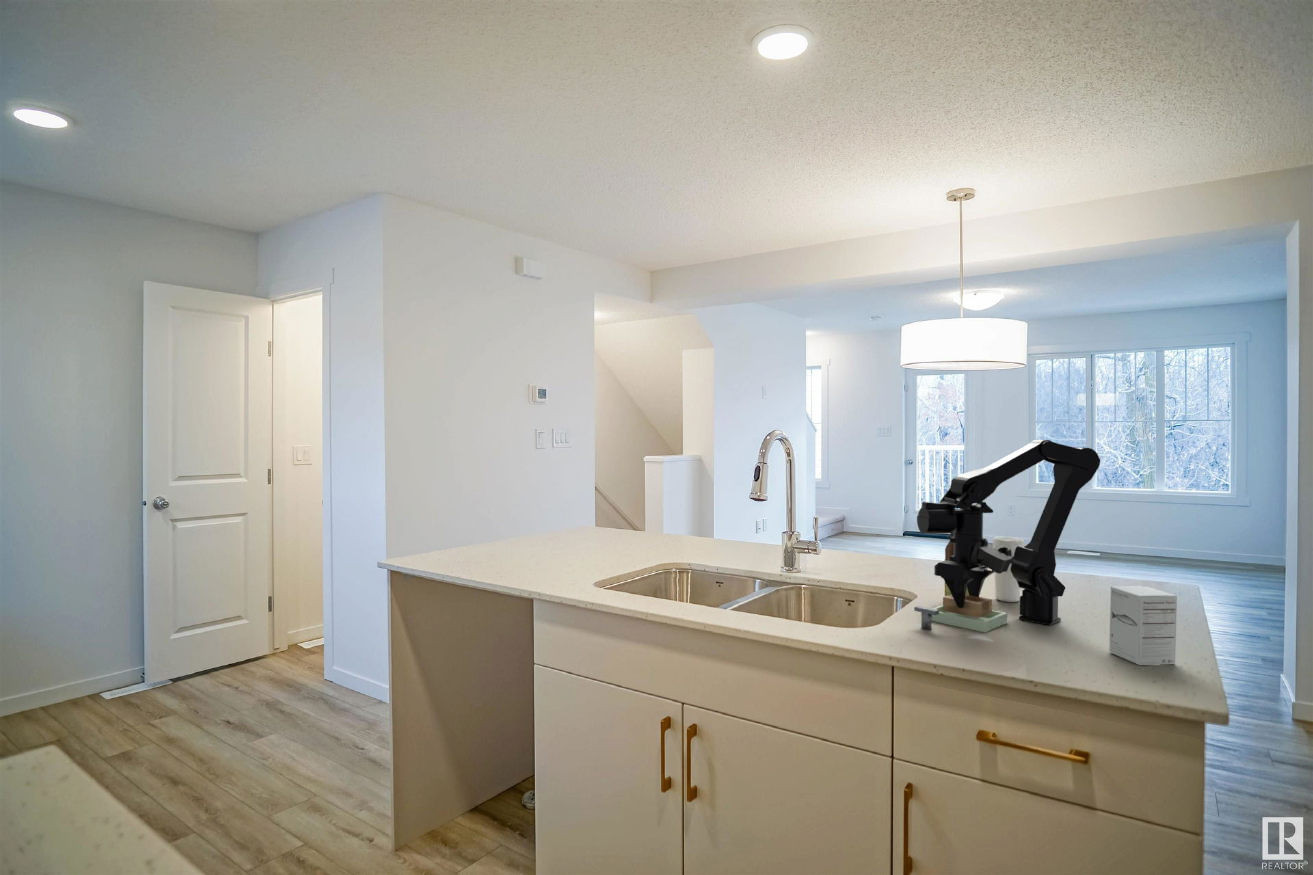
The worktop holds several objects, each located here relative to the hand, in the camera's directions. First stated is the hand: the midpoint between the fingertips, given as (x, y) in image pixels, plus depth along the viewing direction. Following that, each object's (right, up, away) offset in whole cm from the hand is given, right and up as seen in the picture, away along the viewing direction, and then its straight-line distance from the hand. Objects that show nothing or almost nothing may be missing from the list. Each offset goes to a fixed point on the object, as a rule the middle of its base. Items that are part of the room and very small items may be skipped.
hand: (967, 605), depth 151 cm
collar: (0, -2, 0) cm, 2 cm away
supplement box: (+21, -4, -24) cm, 32 cm away
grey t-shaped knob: (-11, -4, -6) cm, 13 cm away
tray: (0, -4, 0) cm, 4 cm away
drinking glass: (+18, -4, +19) cm, 26 cm away
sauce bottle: (+4, -4, +15) cm, 16 cm away
